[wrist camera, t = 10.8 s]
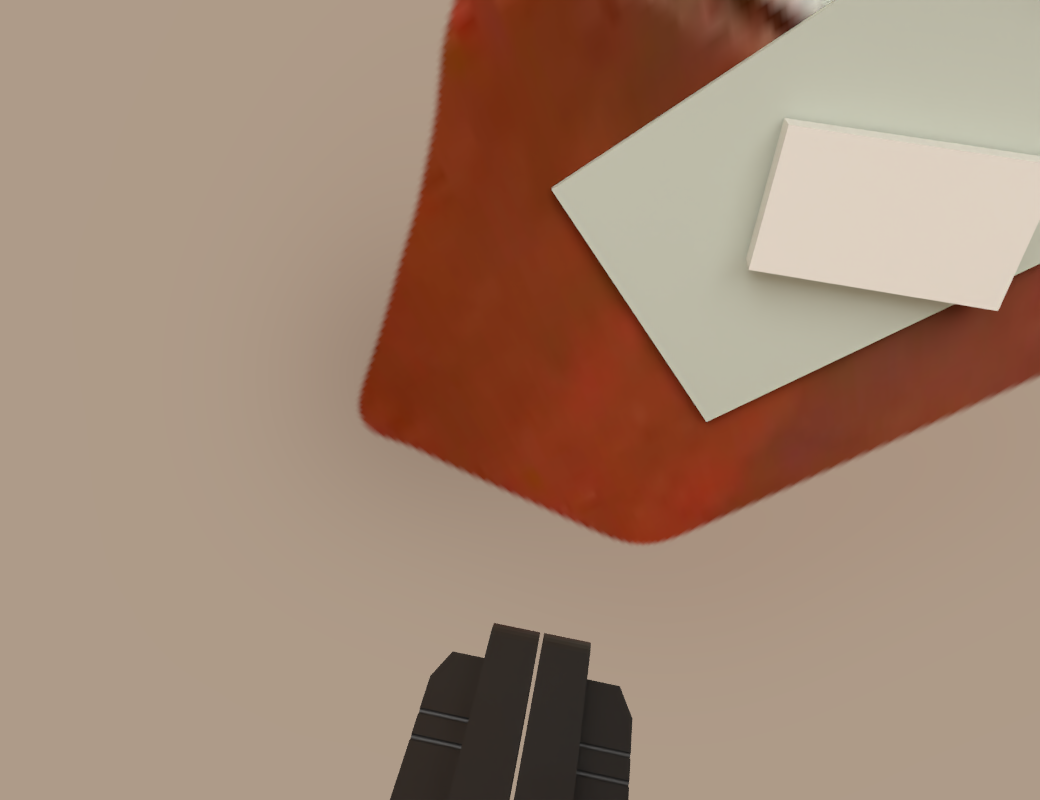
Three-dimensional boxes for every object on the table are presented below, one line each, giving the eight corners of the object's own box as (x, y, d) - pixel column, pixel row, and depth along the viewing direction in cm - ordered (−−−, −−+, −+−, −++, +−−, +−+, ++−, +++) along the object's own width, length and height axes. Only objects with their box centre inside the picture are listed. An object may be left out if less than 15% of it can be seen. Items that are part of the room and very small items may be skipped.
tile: (748, 269, 40) (997, 310, 39) (788, 124, 36) (1064, 166, 35) (745, 257, 41) (985, 296, 41) (783, 116, 38) (1048, 156, 37)
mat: (552, 186, 42) (551, 189, 41) (1045, -140, 32) (1051, -142, 32) (706, 416, 47) (706, 421, 47) (1170, 194, 37) (1177, 198, 37)
